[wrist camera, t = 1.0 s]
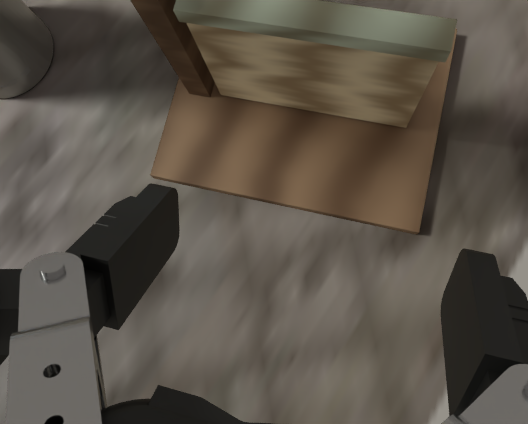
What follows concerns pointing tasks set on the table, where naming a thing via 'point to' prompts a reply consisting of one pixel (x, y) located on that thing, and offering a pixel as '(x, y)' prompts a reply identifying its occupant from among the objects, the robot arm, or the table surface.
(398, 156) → the gate base
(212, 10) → the gate leaf
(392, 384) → the table surface
